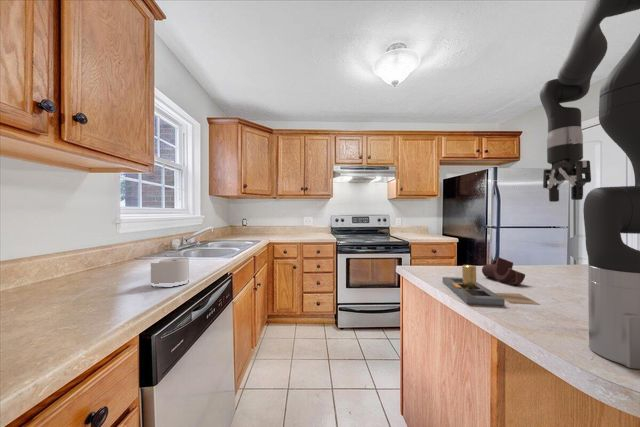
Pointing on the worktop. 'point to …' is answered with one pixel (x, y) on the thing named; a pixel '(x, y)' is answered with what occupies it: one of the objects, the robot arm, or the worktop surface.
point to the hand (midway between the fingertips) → (564, 200)
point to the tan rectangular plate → (516, 298)
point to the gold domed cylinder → (469, 276)
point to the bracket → (503, 272)
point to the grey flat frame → (473, 293)
